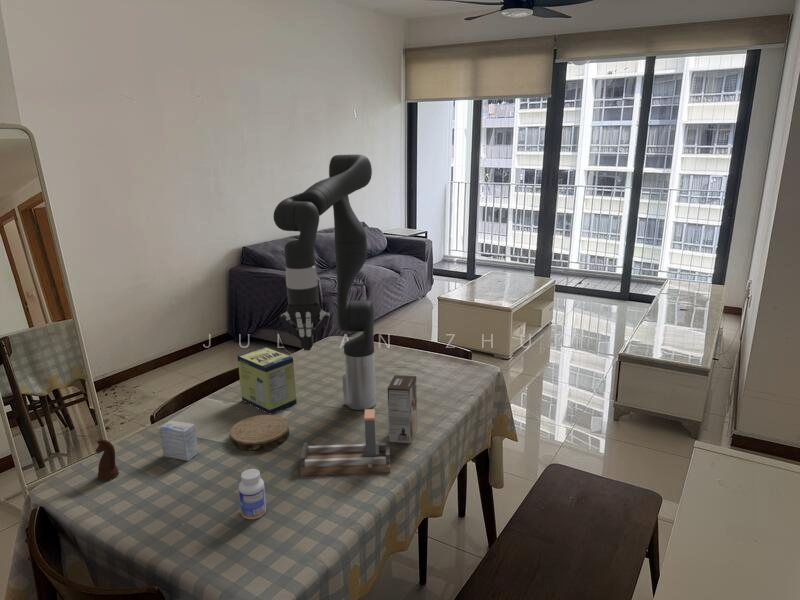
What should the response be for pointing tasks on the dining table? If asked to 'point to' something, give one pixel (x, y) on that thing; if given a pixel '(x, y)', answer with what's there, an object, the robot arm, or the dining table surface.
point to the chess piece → (106, 461)
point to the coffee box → (402, 408)
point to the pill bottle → (252, 494)
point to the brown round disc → (259, 433)
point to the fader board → (343, 459)
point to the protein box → (267, 379)
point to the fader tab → (370, 435)
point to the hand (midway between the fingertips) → (307, 349)
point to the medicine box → (179, 440)
